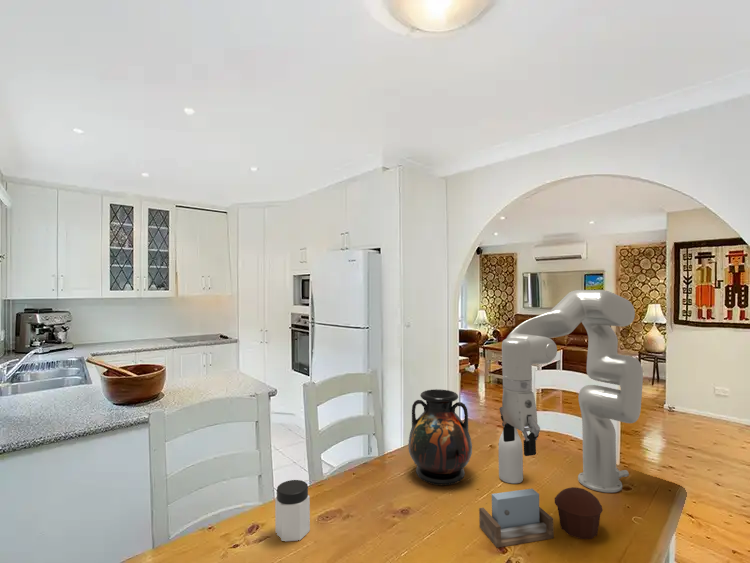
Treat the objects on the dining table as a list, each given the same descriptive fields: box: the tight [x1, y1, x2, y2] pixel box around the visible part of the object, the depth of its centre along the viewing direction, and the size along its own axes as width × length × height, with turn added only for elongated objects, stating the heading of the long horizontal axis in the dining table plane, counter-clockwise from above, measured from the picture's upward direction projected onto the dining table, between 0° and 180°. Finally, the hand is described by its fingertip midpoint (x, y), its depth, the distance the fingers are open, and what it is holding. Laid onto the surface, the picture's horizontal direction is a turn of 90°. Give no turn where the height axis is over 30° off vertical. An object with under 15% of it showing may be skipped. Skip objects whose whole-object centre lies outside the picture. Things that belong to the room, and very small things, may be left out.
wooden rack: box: [478, 506, 554, 548], centre depth 107 cm, size 16×9×5 cm, turn 103°
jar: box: [274, 479, 311, 542], centre depth 108 cm, size 9×8×12 cm
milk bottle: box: [498, 427, 524, 484], centre depth 137 cm, size 8×8×20 cm
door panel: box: [491, 488, 540, 529], centre depth 107 cm, size 12×3×9 cm, turn 103°
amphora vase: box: [407, 388, 473, 486], centre depth 140 cm, size 22×22×28 cm
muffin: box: [554, 486, 604, 540], centre depth 108 cm, size 12×11×10 cm
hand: (519, 447), depth 110 cm, fingers open, 9 cm apart
